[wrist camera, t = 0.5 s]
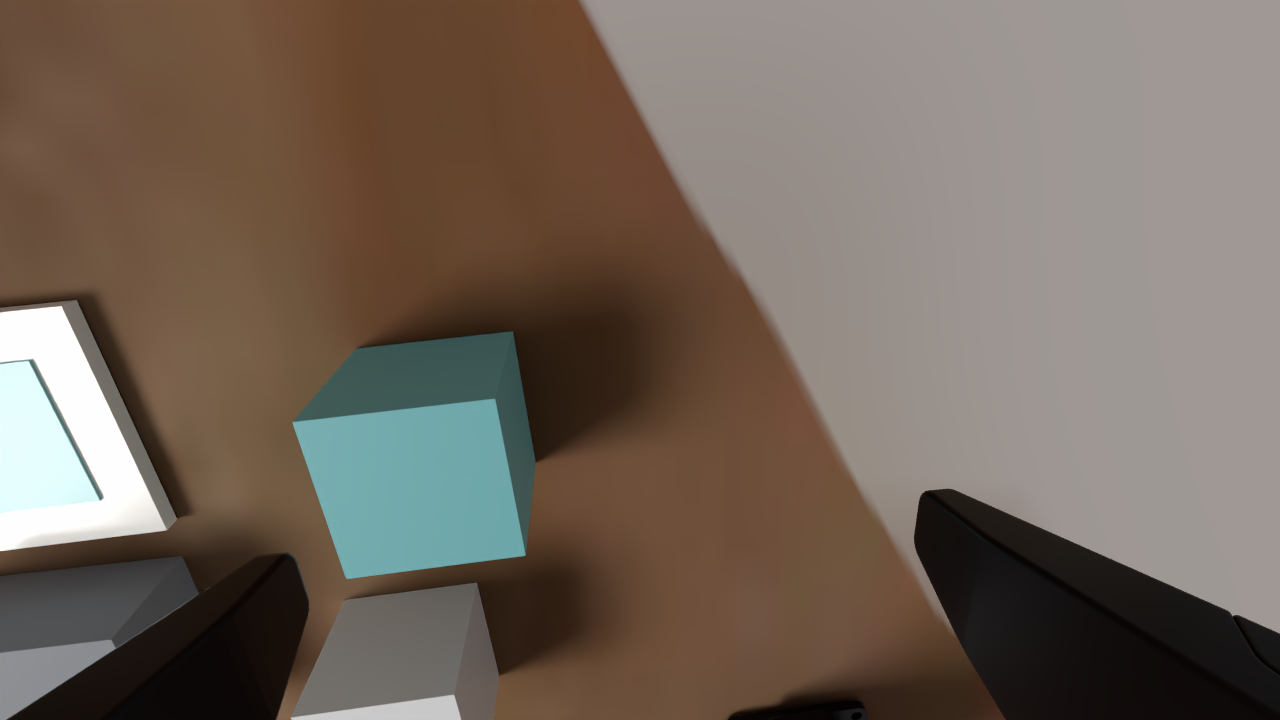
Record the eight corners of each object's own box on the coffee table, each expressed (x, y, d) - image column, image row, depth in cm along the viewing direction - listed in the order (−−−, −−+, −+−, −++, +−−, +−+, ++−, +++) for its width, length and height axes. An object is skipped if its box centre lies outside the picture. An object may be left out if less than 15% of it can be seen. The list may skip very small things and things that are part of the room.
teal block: (535, 461, 22) (525, 555, 18) (393, 478, 22) (346, 579, 18) (513, 330, 20) (494, 398, 16) (356, 347, 20) (292, 422, 16)
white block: (499, 674, 26) (483, 796, 22) (377, 690, 26) (335, 819, 21) (477, 581, 24) (454, 694, 20) (345, 598, 24) (291, 717, 19)
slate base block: (246, 688, 25) (191, 788, 22) (64, 711, 25) (-23, 817, 21) (185, 551, 23) (111, 639, 19) (-20, 574, 22) (-137, 669, 19)
